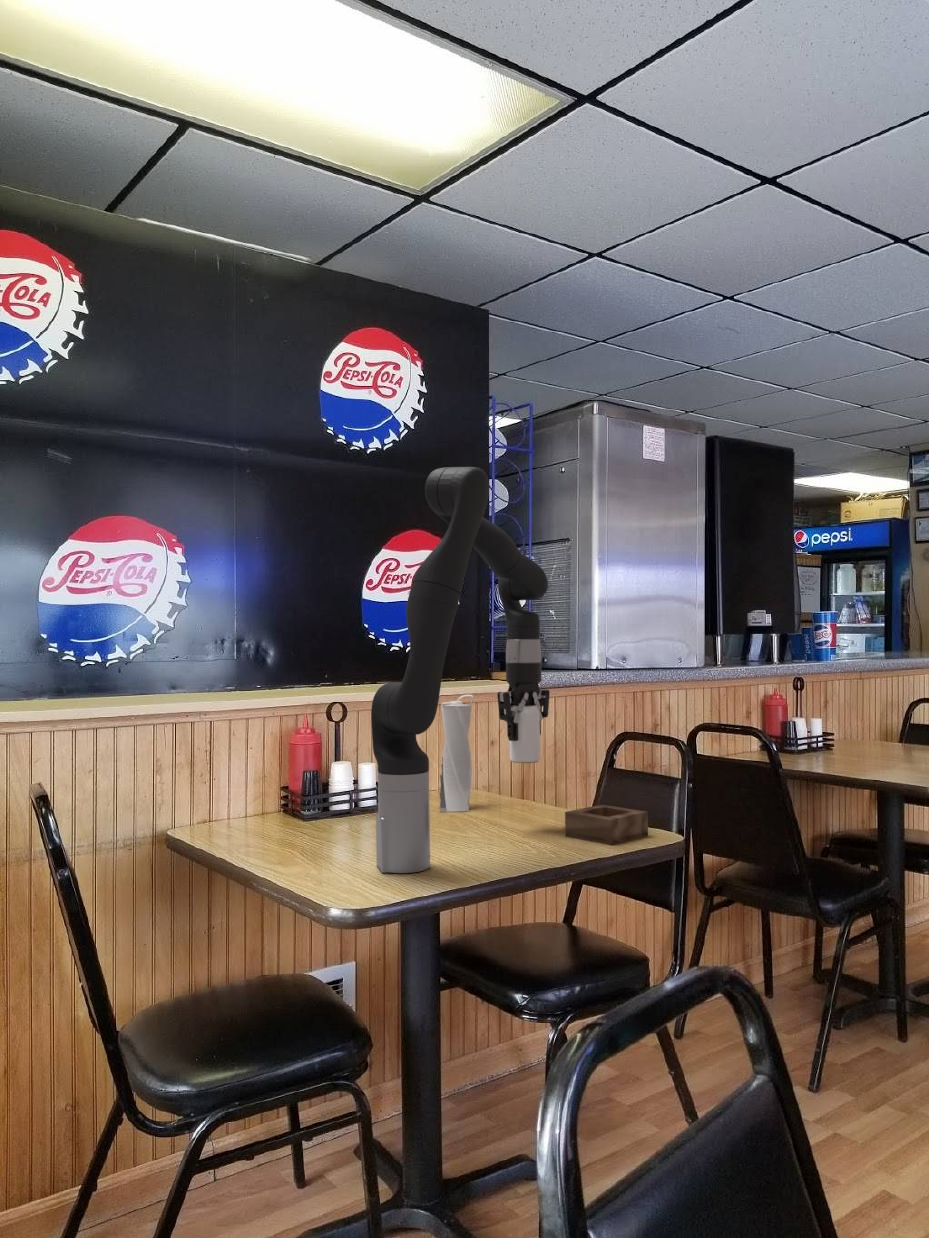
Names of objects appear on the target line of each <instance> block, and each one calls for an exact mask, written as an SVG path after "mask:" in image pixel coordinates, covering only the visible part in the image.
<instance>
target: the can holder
mask: <svg viewBox="0 0 929 1238" xmlns="http://www.w3.org/2000/svg"><path fill="white" fill-rule="evenodd" d="M564 829H565V830H564V833H565V837H567V838H573V839H576V840H577V839H578V840H582V841H587V842H594V843H598V844H604V845H608V846H614V845H617V844H622V843H626V842H631V841H633V840H638V839H641V838H645V837H648V836H649V811H645V810H639V809H633V808H626V807H620V806H619V807H618V806H613V805H609V804H608V805H606V804H600V805H594V806H589V807H584V808H579V809H574V810H569V811H565V812H564Z"/></svg>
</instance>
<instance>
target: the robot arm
mask: <svg viewBox="0 0 929 1238" xmlns="http://www.w3.org/2000/svg"><path fill="white" fill-rule="evenodd" d="M489 481H490V480H489V477H488V475H487V473H486V471H485V470H484V469H482V468H480V467H476V466H448V467H445V466H444V467H439V468H436V469H433V470H432V471H431V472H430V473H429V475H428V476H427V478H426V480H425V485H424V495H425V499H426V501H427V504H428V506H429V508H430V509H431V510H432V511H433V512H434V513H435V514H436V515H437V516H438V517H440V519H442V520H443V521H444V522H445V523H446V524H447V525H448V528H447V530H446V533H445V534H444V536H443V537H442V539H441V540H440V542H439V543H438V544H437V545H436V547H435V548H434V549H433V550H432V551H431V552H430V553H429V554H428V556H427V557H426V558H425V559H424V560H423V561H422V563H421V564H420V565H419V567H418V568H417V570H416V572H415V573H414V577H413V579H412V581H411V586H410V589H409V594H408V597H407V601H406V606H405V616H406V617H405V618H406V626H407V631H408V639H409V657H408V660H407V661H408V662H407V665H406V669H405V673H404V676H403V679H402V681H391V682H387V683H385V684H383V685H382V686H380V687H379V688H378V689H377V691H376V692H375V693H374V696H373V699H372V703H371V711H370V712H371V713H370V714H371V738H372V739H371V740H372V751H373V756H374V758H375V761H376V764H377V796H378V797H377V807H378V808H377V809H378V811H377V812H376V814H375V819H376V820H375V826H376V827H375V832H376V833H375V834H376V835H375V837H376V839H375V840H376V841H375V842H376V846H375V848H376V849H375V850H376V866H377V868H378V869H379V870H380V873H384V874H385V873H393V874H410V873H412V874H413V873H418V872H422V871H427V870H428V869H430V867H431V837H430V836H431V829H430V827H431V826H430V824H431V823H430V760H429V759H430V758H429V755H427V753H425V752H424V750H423V749H422V748H421V747H420V745H419V744H418V740H417V736H418V735H420V734H423V733H424V732H426V731H428V729H429V728H430V727H431V726H432V724H433V722H434V721H435V718H436V715H437V712H438V711H437V710H438V707H439V702H440V701H439V699H440V693H441V688H442V687H441V684H442V680H443V679H442V678H443V671H444V666H445V660H446V655H447V651H448V646H449V643H450V638H451V633H452V629H453V626H454V621H455V618H456V614H457V611H458V607H459V602H460V599H461V598H460V597H461V595H462V590H463V586H464V585H463V584H464V579H465V577H466V572H467V568H468V564H469V560H470V556H471V553H472V550H473V548H474V549H475V551H477V553H478V554H479V556H480V557H481V558H482V560H484V561H483V562H485V564H486V565H487V566H488V567H489V568H490V570H491V571H492V573H493V574H495V576H497V577H498V580H497V588H498V589H497V590H498V594H499V596H500V600H501V603H502V608H503V611H504V615H505V619H506V620H505V621H506V648H505V678H506V679H505V680H506V683H508V689H507V691H498V692H497V704H498V716H499V717H498V718H499V720H501V721H503V722H506V727H507V728H506V729H507V733H506V735H507V738H508V741H509V742H510V741H517V740H518V723H517V721H518V718H519V713H521V712H522V711H523V706H532V705H537V708H538V710H539V713H540V736H541V734H542V731H541V730H542V720H543V719H545V718H548V716H549V708H550V690H549V689H544V688H543V689H540V686H539V683H541V682H542V647H541V640H540V637H541V636H540V635H541V633H540V615H539V614H538V613H537V612H534V611H530V610H525V609H524V608H523V607H522V604H521V601H535V600H539V599H541V598H543V597H544V596H545V595H546V593H547V591H548V588H549V581H548V577H547V575H546V573H545V571H544V570H543V567H541V566H540V565H539V564H538V563H536V562H535V561H534V560H532V559H531V558H530V557H528V556H527V555H525V554H524V553H522V552H521V550H520V549H519V547H517V545H516V544H515V542H514V541H513V540H512V538H511V537H510V536H509V534H508V533H507V532H506V531H504V530H503V529H502V528H501V527H500V526H498V525H496V524H495V523H493V522H491V521H490V520H489V519H487V518H485V517H484V515H485V512H486V509H487V505H488V501H489V496H490V482H489ZM512 705H515V706H518V707H517V708H512ZM512 712H515V713H514V716H512Z"/></svg>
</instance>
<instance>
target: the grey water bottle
mask: <svg viewBox="0 0 929 1238" xmlns="http://www.w3.org/2000/svg"><path fill="white" fill-rule="evenodd" d="M466 697H467V698H468V697H471V701H470V704H463V700H461V699H462V698H466ZM473 702H474V695H472V694H463V695H461V696H459V697H458V698H457V700H455V701H454V700H452V701H445V702H442V703H441V704H440V706H441V707H440V708H441V716H442V724H443V725H442V727H443V731H444V732H443V733H444V745H443V751H442V752H443V753H442V757H441V759H442V760H441V761H442V762H441V765H440V766H441V773H440V774H439V781H440V787H439V788H440V789H439V798H440V801H439V812H440V813H443V814H444V813H445V814H446V813H470V809H469V808H470V801H471V800H470V799H471V789H472V787H471V786H472V772H473V771H472V767H473V766H472V754H471V751H472V750H471V747H470V746H471V745H470V740H469V734H470V733H469V732H470V726H471V714H472V706H473Z"/></svg>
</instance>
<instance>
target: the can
mask: <svg viewBox="0 0 929 1238" xmlns="http://www.w3.org/2000/svg"><path fill="white" fill-rule="evenodd" d="M517 707H518V706H515V705H512V708H517ZM514 713H515V712H512V716H514ZM517 723H518V740H517V741H510V740H509V760H510V761H511V763H515V764H533V763H538V762H539V761H540V760H541V735H540V713H539V710H538V708H537V705H532V706H523V711H522V712H521V713H519V718H518V721H517Z"/></svg>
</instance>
